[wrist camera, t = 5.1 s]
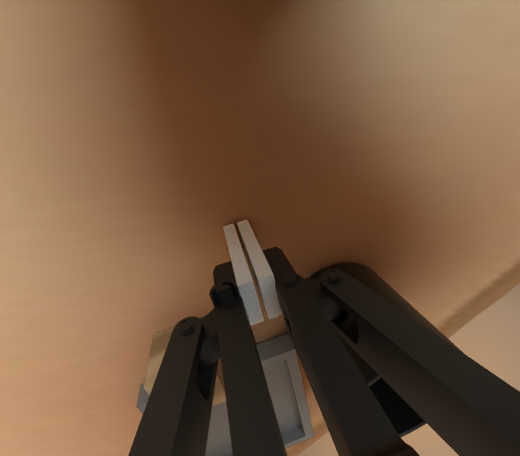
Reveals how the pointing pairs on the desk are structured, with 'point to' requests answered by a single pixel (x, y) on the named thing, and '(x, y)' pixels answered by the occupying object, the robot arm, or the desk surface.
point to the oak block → (156, 358)
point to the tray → (282, 395)
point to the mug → (389, 400)
